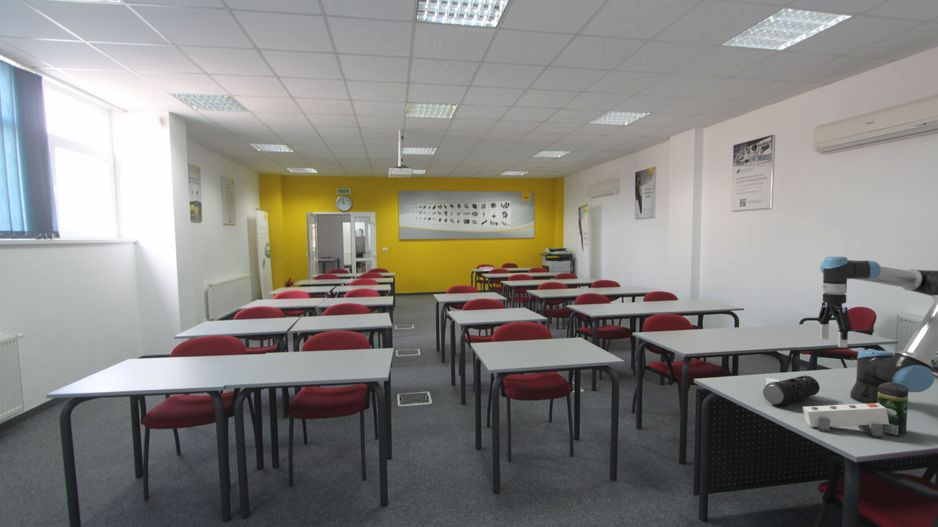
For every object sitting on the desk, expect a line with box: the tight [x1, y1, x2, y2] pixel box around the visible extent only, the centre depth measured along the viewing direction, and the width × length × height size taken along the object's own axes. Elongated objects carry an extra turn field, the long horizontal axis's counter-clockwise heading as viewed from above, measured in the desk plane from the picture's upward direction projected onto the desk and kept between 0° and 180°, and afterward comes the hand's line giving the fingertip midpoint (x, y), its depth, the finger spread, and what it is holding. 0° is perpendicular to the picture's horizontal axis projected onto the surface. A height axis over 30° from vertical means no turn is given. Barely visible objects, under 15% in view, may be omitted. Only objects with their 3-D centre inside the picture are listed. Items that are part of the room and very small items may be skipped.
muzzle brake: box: [762, 375, 820, 406], centre depth 189 cm, size 10×28×10 cm, turn 115°
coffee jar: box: [878, 382, 909, 437], centre depth 159 cm, size 10×8×19 cm
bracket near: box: [857, 424, 884, 440], centre depth 159 cm, size 3×9×5 cm, turn 162°
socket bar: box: [802, 403, 889, 428], centre depth 161 cm, size 24×5×7 cm, turn 71°
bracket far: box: [814, 418, 831, 434], centre depth 164 cm, size 3×9×5 cm, turn 162°
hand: (833, 343), depth 178 cm, fingers open, 13 cm apart
